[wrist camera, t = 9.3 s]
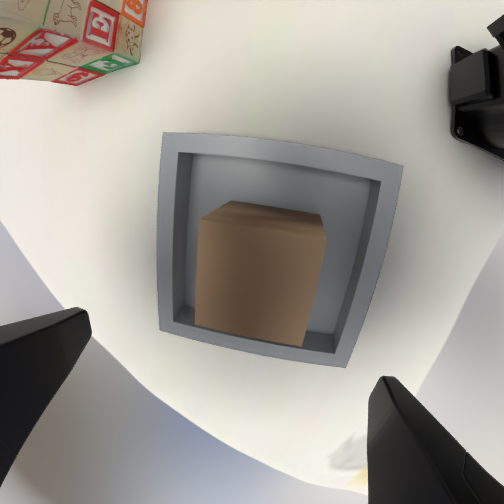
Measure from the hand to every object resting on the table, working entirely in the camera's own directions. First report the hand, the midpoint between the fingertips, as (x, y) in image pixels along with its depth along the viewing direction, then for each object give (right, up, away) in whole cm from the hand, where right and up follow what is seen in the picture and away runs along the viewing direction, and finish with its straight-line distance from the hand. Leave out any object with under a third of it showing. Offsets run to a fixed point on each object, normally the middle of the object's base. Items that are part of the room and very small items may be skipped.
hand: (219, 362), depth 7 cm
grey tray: (+2, +3, +9) cm, 10 cm away
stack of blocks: (-10, +26, +4) cm, 28 cm away
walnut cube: (+2, +3, +9) cm, 10 cm away
